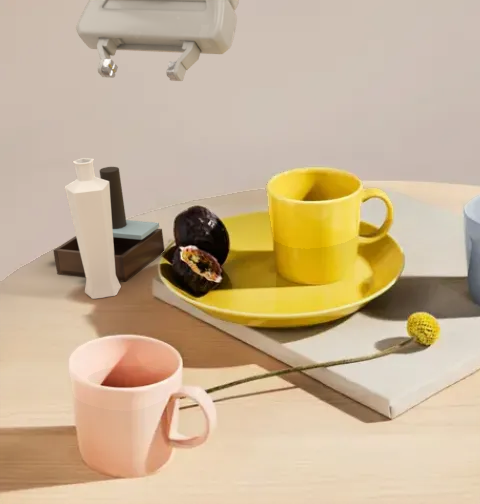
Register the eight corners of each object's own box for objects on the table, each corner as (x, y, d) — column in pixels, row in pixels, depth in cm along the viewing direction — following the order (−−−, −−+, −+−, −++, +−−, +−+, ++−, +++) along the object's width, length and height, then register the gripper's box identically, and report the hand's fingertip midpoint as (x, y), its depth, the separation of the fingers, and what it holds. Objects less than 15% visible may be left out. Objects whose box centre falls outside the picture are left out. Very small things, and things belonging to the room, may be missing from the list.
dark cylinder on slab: (75, 233, 112) (65, 172, 109) (95, 221, 116) (86, 161, 113) (141, 240, 109) (133, 177, 106) (159, 227, 113) (152, 166, 110)
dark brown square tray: (57, 274, 109) (52, 250, 108) (99, 245, 117) (96, 222, 116) (125, 281, 107) (122, 257, 106) (164, 251, 115) (162, 228, 113)
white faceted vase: (72, 298, 103) (50, 166, 97) (95, 281, 107) (75, 154, 101) (109, 302, 102) (89, 169, 96) (131, 286, 106) (113, 156, 100)
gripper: (86, -34, 120) (52, 58, 115) (233, -32, 115) (204, 65, 110) (109, -2, 126) (78, 86, 121) (250, 1, 120) (223, 94, 116)
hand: (139, 76), depth 115 cm, fingers open, 8 cm apart
